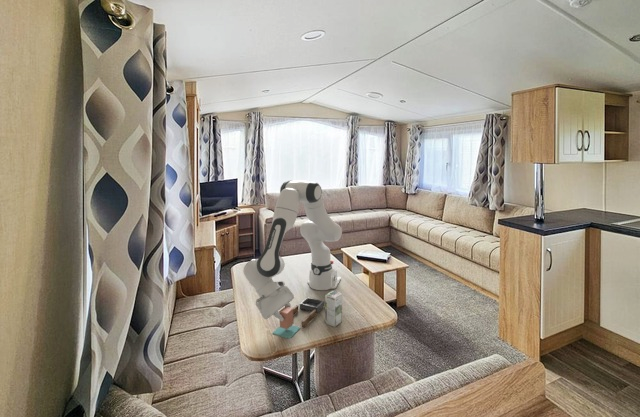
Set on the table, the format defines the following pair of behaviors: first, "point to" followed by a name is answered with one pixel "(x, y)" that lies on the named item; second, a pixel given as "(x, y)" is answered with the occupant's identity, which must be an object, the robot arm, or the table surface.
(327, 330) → the table surface
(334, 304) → the syrup box
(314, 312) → the parallel wooden rails
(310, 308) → the tray
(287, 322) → the block
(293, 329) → the mat
